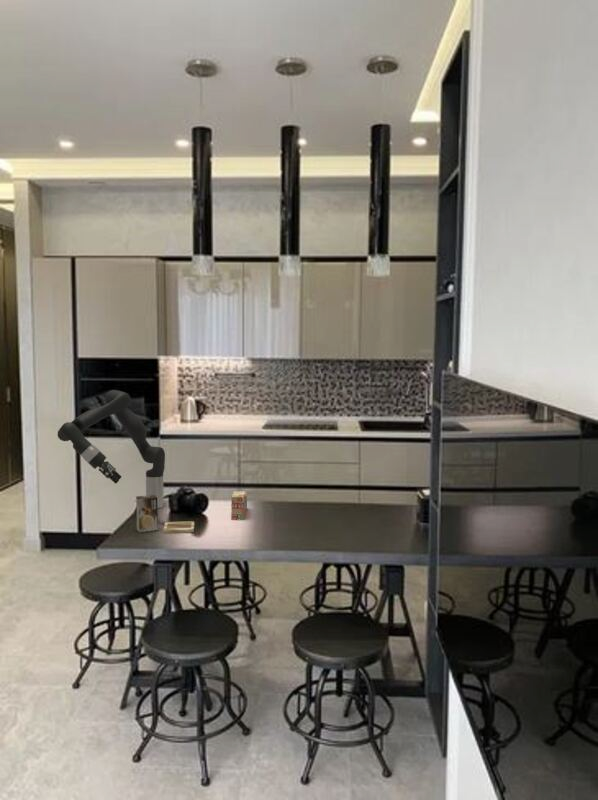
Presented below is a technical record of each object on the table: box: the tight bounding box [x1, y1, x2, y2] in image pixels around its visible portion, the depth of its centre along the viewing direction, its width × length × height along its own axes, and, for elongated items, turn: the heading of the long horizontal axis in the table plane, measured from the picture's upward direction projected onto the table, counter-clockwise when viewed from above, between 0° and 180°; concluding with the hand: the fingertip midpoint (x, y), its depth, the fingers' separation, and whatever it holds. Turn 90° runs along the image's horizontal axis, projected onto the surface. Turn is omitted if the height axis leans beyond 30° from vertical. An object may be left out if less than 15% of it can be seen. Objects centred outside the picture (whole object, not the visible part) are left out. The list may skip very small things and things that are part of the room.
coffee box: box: [135, 495, 159, 533], centre depth 293 cm, size 9×6×16 cm
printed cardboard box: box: [230, 490, 248, 521], centre depth 322 cm, size 21×6×12 cm, turn 0°
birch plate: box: [162, 520, 195, 534], centre depth 295 cm, size 14×14×2 cm
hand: (118, 480), depth 289 cm, fingers open, 8 cm apart
